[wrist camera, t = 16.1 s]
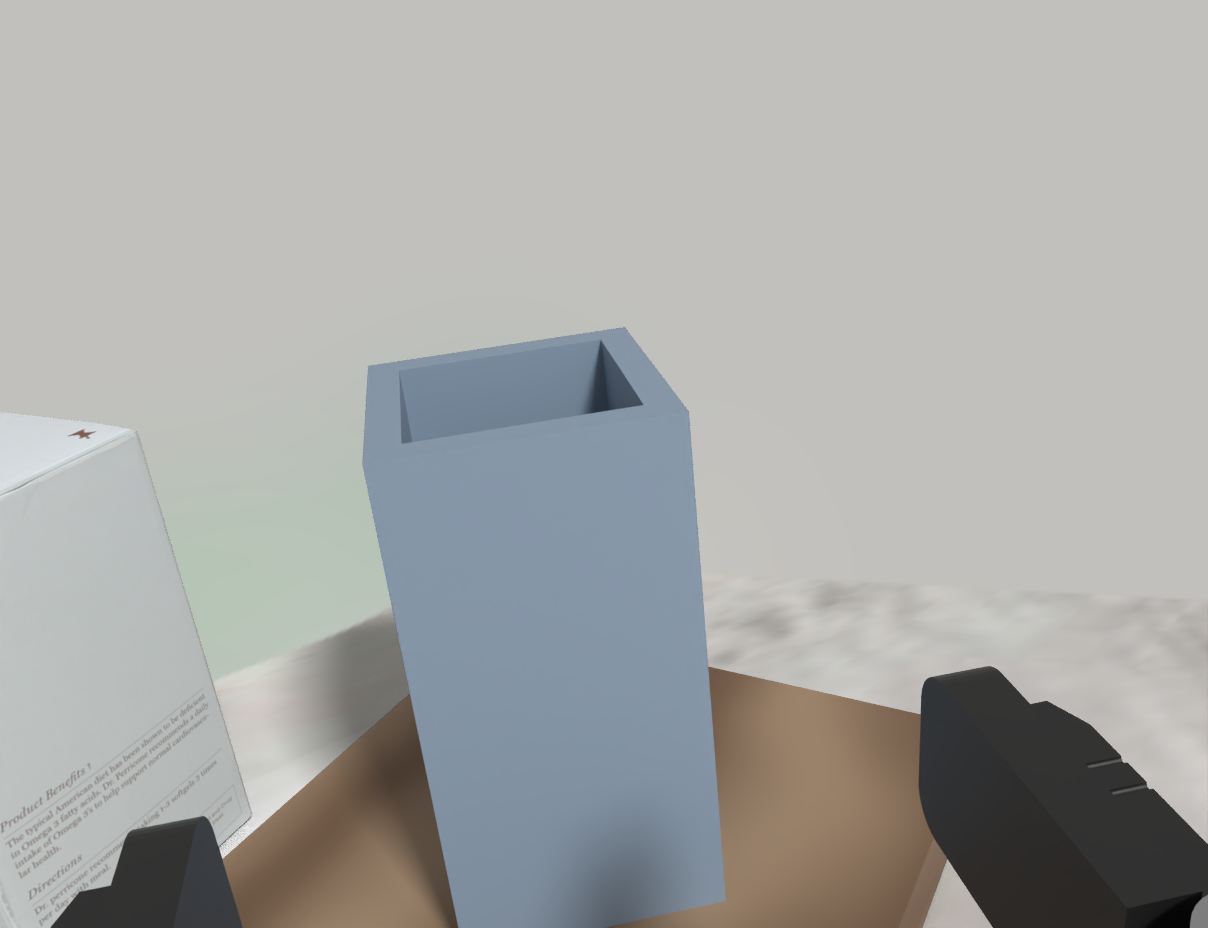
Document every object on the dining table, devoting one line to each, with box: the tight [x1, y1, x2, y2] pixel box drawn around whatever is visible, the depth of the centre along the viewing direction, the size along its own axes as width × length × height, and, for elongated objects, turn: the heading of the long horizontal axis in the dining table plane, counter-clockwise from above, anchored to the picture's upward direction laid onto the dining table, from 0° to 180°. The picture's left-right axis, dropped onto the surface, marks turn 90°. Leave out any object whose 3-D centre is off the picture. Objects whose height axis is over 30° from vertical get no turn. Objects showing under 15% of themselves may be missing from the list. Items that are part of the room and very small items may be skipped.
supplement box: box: [0, 412, 252, 928], centre depth 29 cm, size 7×7×13 cm
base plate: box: [222, 667, 947, 928], centre depth 28 cm, size 16×16×2 cm
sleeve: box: [363, 327, 726, 928], centre depth 25 cm, size 6×6×12 cm
